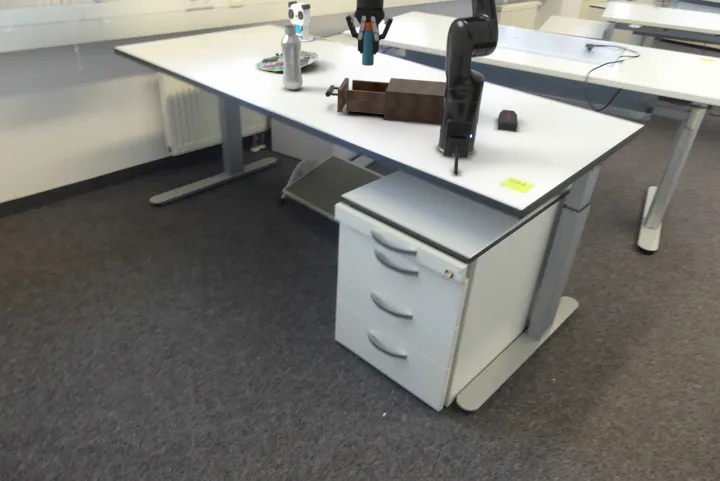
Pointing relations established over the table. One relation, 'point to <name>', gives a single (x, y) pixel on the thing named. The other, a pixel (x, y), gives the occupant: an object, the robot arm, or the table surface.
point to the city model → (277, 61)
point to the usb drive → (507, 120)
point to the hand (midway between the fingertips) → (368, 53)
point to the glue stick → (368, 45)
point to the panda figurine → (300, 19)
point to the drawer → (360, 96)
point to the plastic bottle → (291, 58)
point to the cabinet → (414, 101)
